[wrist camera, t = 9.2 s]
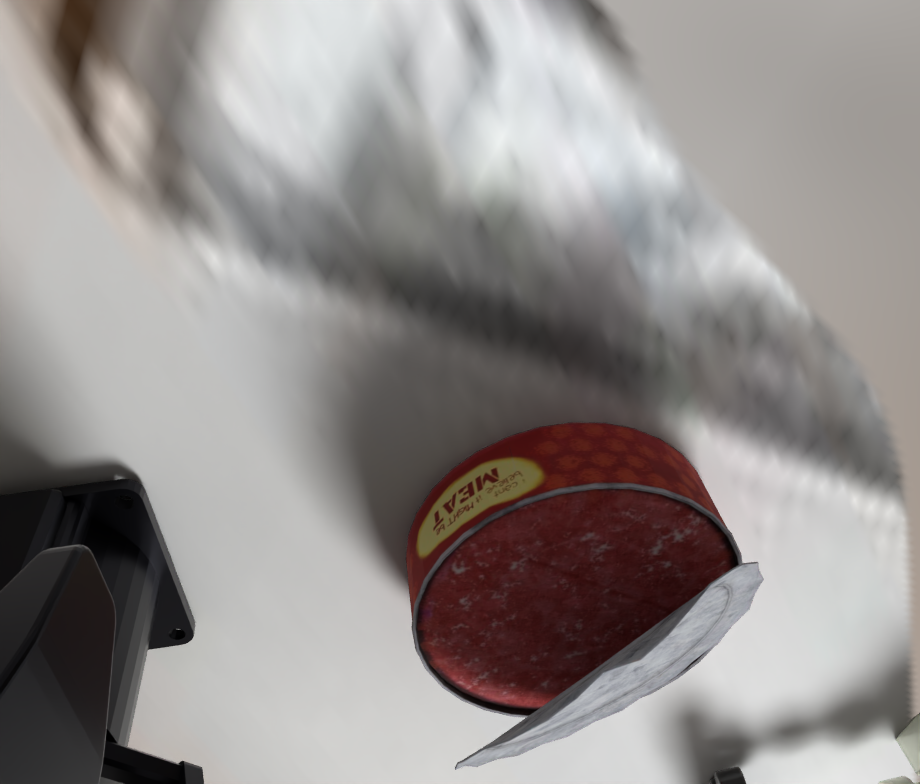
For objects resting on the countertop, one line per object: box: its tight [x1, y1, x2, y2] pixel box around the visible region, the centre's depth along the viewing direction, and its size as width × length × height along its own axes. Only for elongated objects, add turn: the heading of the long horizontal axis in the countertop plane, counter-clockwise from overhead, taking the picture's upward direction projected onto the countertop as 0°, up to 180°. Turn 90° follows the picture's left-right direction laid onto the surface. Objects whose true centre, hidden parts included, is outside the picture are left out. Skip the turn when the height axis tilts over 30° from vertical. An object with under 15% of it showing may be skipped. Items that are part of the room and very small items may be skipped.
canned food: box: [406, 422, 764, 770], centre depth 26 cm, size 11×10×10 cm
